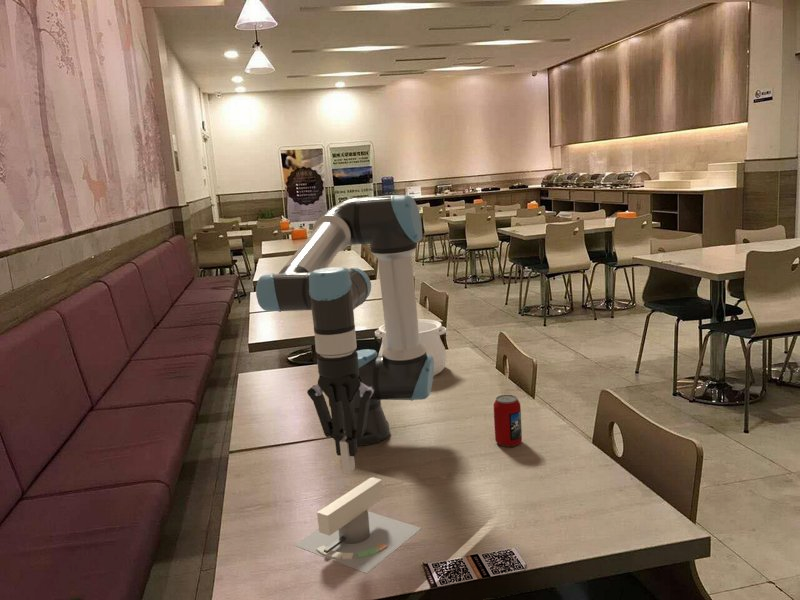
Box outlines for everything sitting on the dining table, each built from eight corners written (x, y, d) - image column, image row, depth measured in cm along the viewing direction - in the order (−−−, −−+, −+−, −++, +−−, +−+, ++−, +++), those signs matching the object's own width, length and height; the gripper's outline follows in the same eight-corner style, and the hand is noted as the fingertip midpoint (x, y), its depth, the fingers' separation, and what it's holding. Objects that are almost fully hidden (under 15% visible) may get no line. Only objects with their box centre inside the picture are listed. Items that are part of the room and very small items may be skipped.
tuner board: (294, 550, 126) (294, 543, 125) (352, 511, 139) (351, 504, 139) (367, 579, 115) (366, 571, 115) (422, 533, 128) (421, 526, 128)
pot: (371, 383, 225) (367, 336, 222) (384, 363, 249) (381, 319, 246) (445, 381, 221) (442, 333, 218) (451, 361, 244) (449, 317, 241)
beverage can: (521, 448, 164) (519, 402, 161) (494, 448, 165) (492, 402, 163) (522, 437, 170) (520, 393, 168) (496, 437, 172) (493, 393, 169)
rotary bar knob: (314, 551, 123) (309, 510, 121) (368, 513, 135) (365, 475, 134) (338, 560, 119) (333, 518, 118) (391, 520, 132) (388, 481, 130)
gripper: (376, 346, 122) (387, 463, 127) (312, 346, 126) (325, 460, 131) (363, 358, 115) (374, 482, 120) (295, 357, 119) (309, 477, 124)
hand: (348, 470), depth 125 cm, fingers closed
